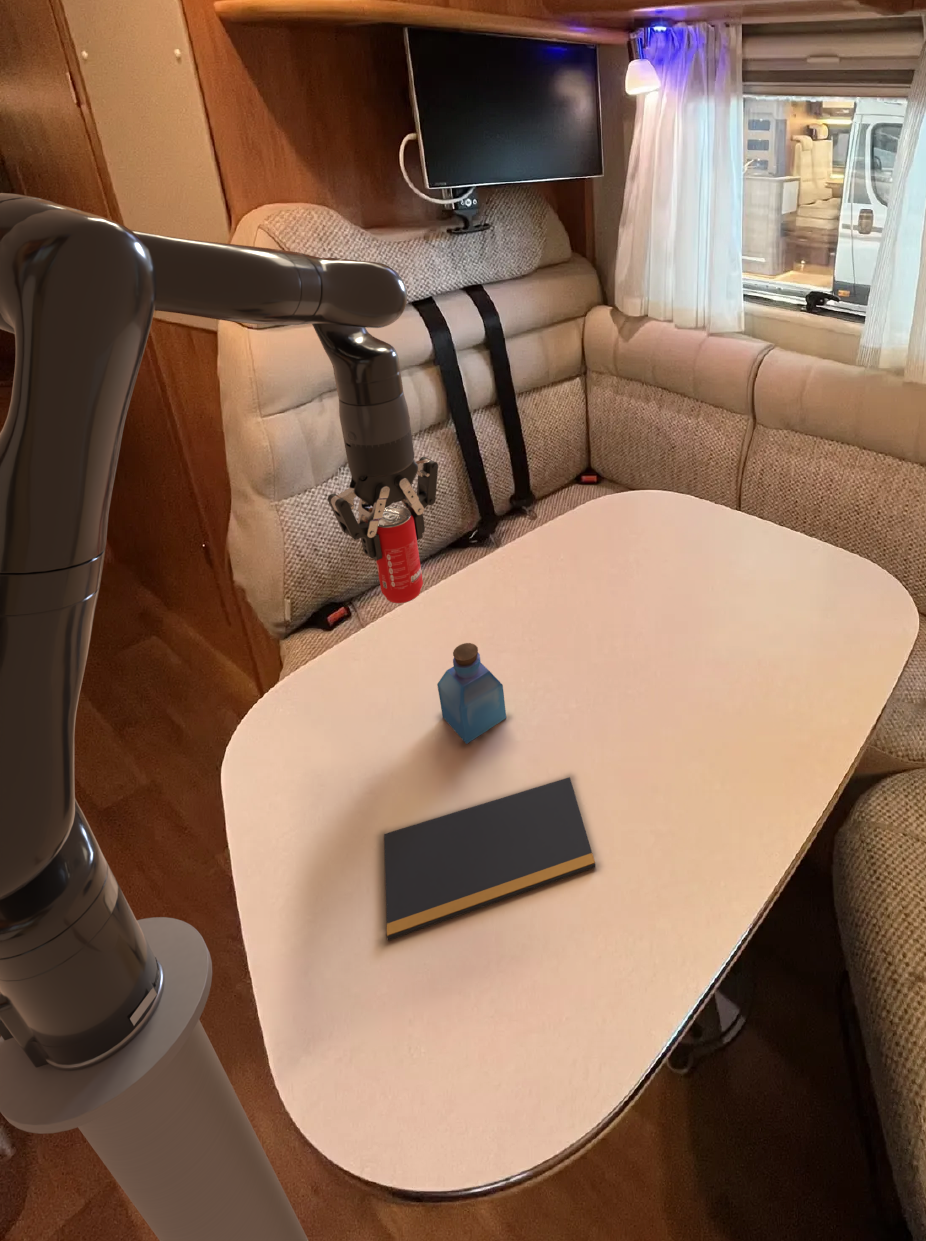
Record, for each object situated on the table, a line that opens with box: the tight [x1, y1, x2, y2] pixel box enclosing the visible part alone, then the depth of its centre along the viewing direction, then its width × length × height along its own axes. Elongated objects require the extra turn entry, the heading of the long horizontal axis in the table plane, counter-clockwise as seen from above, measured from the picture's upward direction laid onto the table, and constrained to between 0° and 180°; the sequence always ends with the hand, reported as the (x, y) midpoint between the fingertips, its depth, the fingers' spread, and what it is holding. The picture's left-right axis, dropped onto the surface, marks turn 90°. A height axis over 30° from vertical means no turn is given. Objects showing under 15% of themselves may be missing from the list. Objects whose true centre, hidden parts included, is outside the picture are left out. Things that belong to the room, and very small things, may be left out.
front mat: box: [383, 776, 596, 941], centre depth 83 cm, size 22×12×1 cm, turn 111°
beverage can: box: [375, 506, 424, 604], centre depth 94 cm, size 5×5×12 cm
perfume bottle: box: [436, 642, 507, 745], centre depth 97 cm, size 6×6×12 cm
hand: (395, 546), depth 93 cm, fingers closed on beverage can, 5 cm apart
